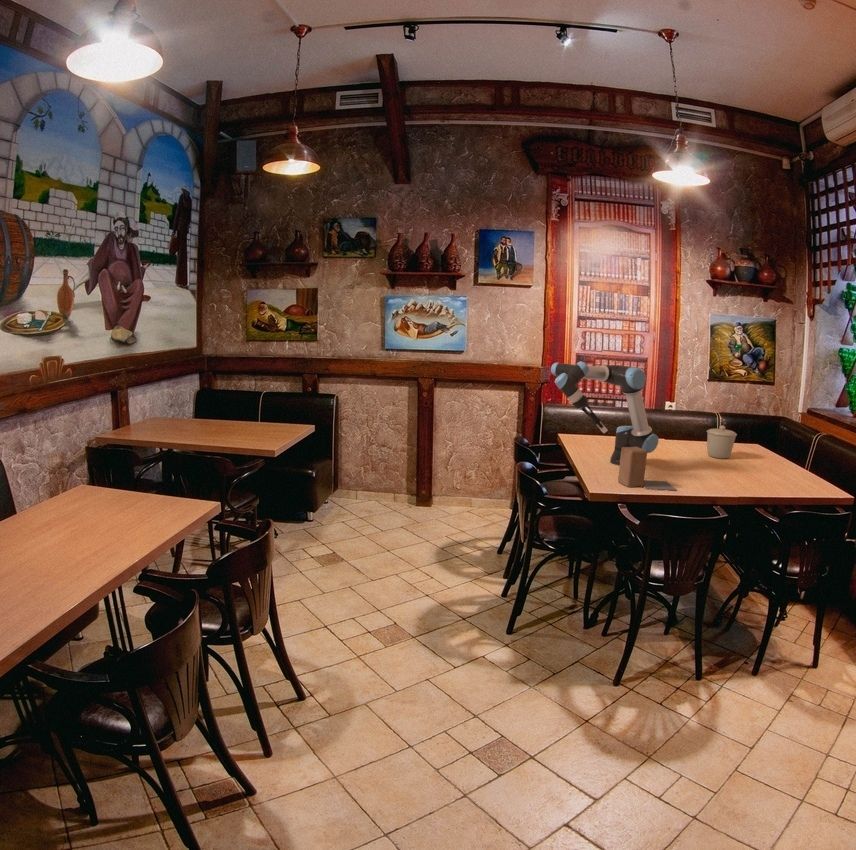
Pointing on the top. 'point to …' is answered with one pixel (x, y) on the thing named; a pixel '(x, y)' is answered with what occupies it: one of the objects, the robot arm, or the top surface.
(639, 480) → the wooden block
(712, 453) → the canister
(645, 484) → the mat
